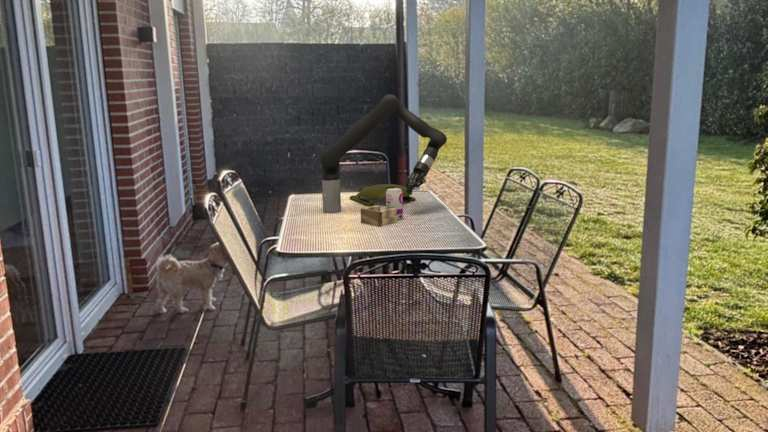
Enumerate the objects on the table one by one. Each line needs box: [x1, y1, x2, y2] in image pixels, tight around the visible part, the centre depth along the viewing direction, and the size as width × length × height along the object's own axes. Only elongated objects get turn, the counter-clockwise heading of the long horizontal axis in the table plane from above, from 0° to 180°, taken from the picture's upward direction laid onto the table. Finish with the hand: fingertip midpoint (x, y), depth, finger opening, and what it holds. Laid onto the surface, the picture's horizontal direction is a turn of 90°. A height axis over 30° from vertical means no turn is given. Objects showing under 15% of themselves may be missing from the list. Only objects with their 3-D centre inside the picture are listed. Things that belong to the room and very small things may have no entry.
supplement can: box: [385, 188, 404, 221], centre depth 323 cm, size 8×8×15 cm
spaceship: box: [349, 183, 417, 207], centre depth 374 cm, size 35×31×10 cm
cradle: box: [360, 205, 398, 228], centre depth 316 cm, size 12×13×7 cm
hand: (407, 192), depth 328 cm, fingers closed
